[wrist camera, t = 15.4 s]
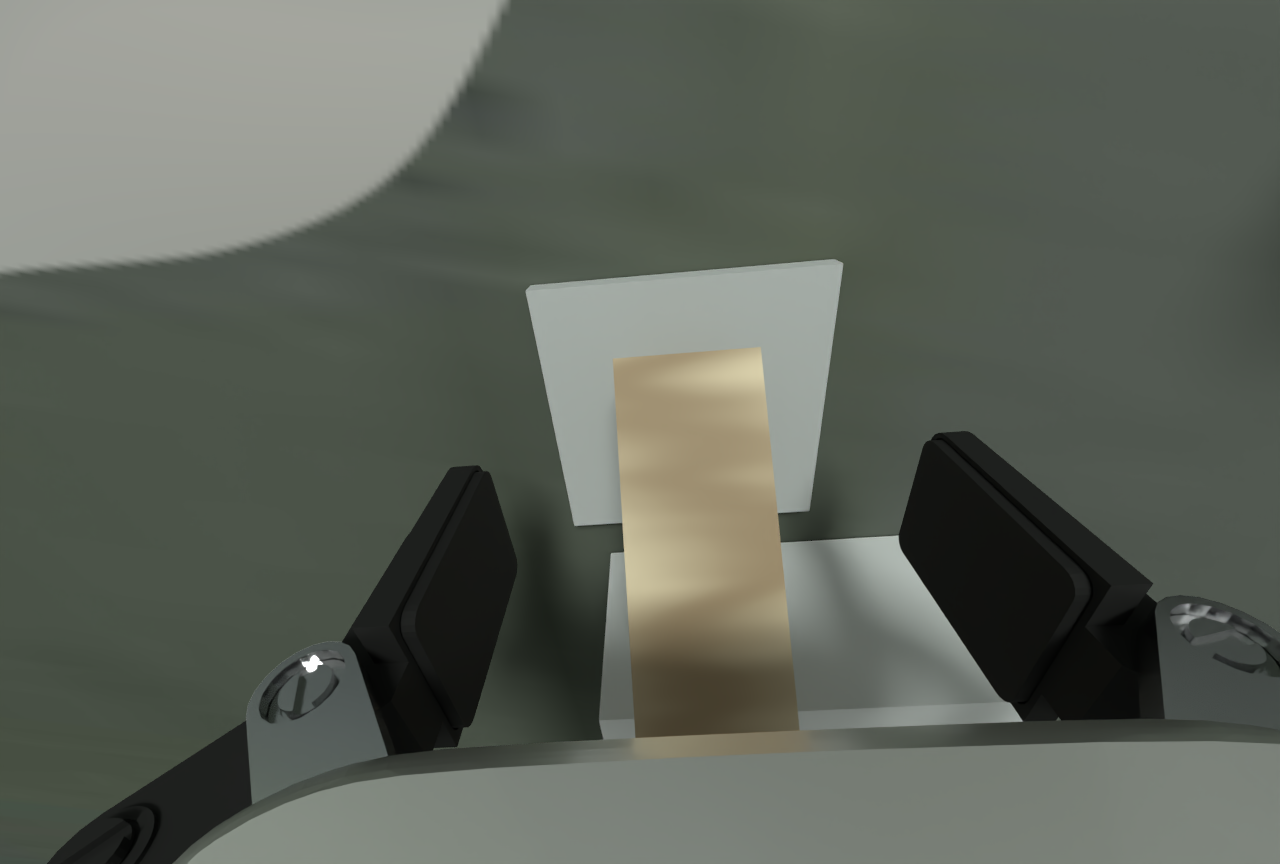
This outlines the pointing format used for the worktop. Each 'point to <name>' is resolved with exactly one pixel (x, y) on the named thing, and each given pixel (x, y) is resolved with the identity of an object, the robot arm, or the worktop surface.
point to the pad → (683, 323)
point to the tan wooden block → (702, 546)
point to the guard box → (842, 645)
